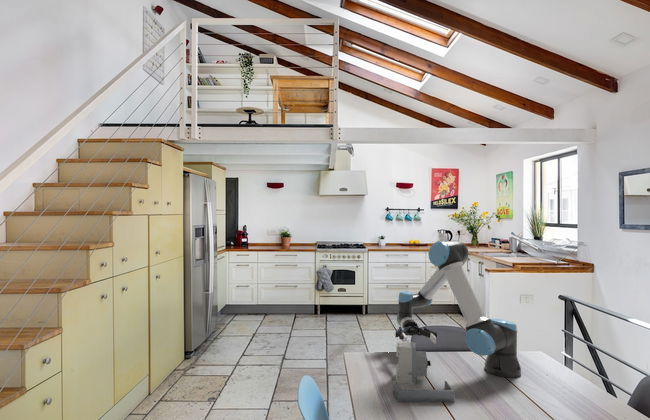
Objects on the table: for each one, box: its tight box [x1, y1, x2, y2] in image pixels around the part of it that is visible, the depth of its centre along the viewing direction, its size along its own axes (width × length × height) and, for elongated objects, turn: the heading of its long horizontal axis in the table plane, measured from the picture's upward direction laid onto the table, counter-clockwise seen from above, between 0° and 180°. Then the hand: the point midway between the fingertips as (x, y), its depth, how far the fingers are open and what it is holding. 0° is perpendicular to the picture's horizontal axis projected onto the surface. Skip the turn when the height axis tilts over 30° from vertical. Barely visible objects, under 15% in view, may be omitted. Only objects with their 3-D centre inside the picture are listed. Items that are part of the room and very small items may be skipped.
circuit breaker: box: [395, 340, 432, 385], centre depth 161 cm, size 8×14×15 cm, turn 78°
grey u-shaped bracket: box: [392, 380, 455, 403], centre depth 146 cm, size 22×9×4 cm, turn 91°
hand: (420, 340), depth 173 cm, fingers open, 13 cm apart
